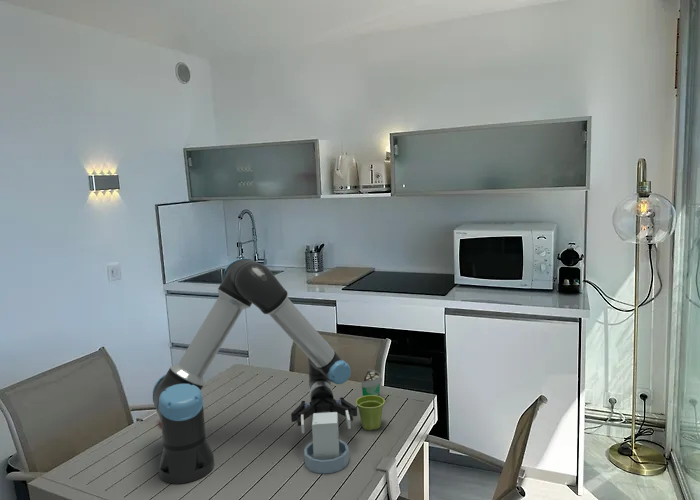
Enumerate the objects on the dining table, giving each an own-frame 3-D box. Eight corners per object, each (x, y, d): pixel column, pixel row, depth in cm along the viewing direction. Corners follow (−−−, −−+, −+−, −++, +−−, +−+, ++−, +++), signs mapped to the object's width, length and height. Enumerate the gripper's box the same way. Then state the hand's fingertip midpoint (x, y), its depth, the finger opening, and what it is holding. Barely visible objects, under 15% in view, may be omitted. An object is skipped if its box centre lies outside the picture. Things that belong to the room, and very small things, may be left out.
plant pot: (376, 435, 161) (375, 409, 160) (351, 429, 166) (350, 403, 165) (390, 423, 169) (389, 398, 168) (366, 417, 174) (365, 393, 173)
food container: (379, 409, 179) (378, 382, 178) (362, 408, 181) (361, 381, 179) (384, 394, 191) (383, 369, 190) (368, 394, 193) (367, 368, 191)
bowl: (305, 476, 141) (304, 463, 141) (304, 451, 154) (303, 440, 153) (351, 470, 143) (351, 458, 142) (346, 447, 155) (345, 436, 155)
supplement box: (339, 465, 145) (337, 423, 143) (313, 466, 145) (311, 424, 143) (340, 451, 152) (337, 411, 150) (315, 452, 152) (312, 412, 150)
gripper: (359, 403, 172) (368, 434, 151) (284, 410, 170) (284, 442, 149) (358, 382, 171) (367, 410, 150) (283, 389, 169) (282, 418, 148)
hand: (326, 426), depth 150 cm, fingers open, 13 cm apart
